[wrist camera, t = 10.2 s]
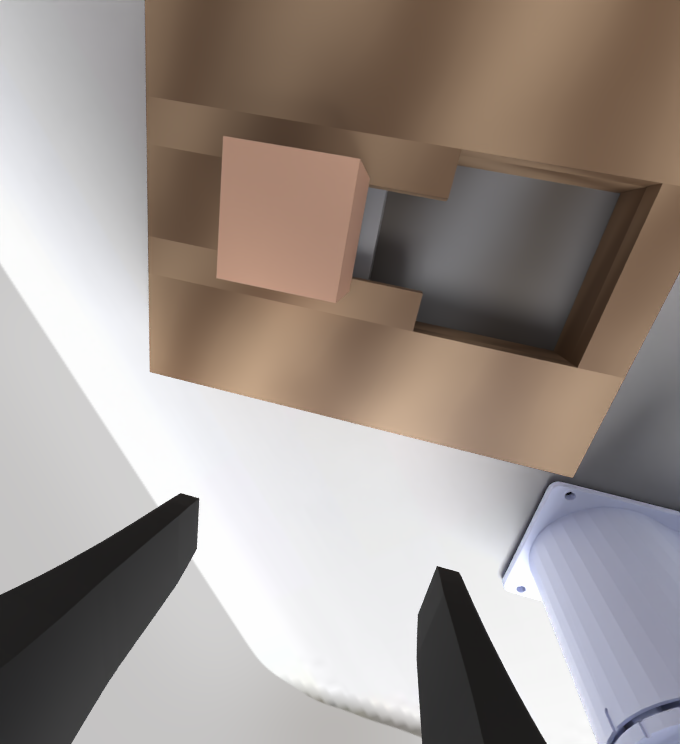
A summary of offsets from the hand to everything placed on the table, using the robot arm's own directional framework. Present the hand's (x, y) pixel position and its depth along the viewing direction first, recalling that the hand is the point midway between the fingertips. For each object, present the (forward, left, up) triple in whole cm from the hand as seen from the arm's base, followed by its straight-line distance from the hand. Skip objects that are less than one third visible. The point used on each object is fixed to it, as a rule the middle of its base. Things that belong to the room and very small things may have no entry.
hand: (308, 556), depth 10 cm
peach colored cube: (+3, -9, -9) cm, 13 cm away
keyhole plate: (0, -9, -10) cm, 13 cm away
